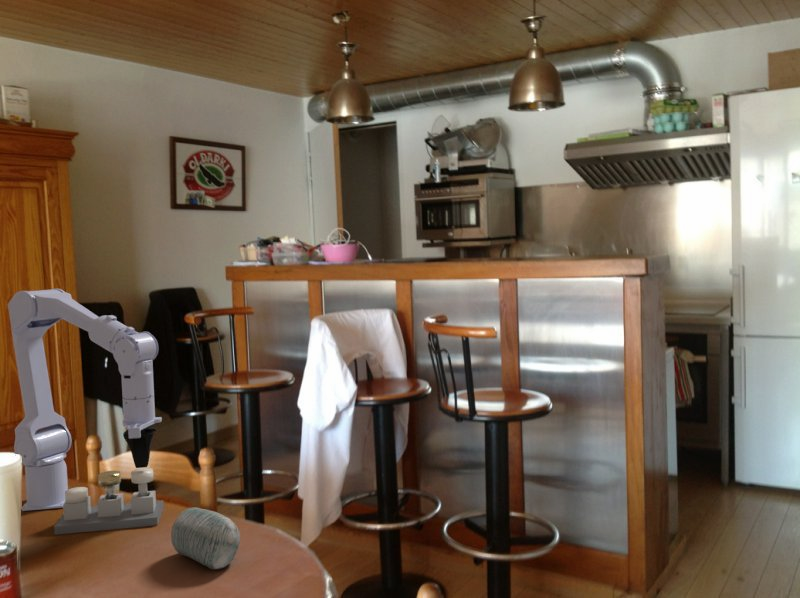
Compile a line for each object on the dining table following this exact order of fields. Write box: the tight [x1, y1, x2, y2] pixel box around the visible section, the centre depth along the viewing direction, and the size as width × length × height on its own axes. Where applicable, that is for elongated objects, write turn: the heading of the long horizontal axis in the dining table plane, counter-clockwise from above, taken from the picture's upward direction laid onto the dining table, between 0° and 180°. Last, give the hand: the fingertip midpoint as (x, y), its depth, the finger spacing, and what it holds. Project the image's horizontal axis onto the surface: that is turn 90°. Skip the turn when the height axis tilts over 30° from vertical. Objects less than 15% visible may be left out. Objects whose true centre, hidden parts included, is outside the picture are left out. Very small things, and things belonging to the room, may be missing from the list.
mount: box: [53, 490, 164, 536], centre depth 144 cm, size 10×18×4 cm, turn 101°
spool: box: [170, 507, 241, 570], centre depth 124 cm, size 14×10×10 cm
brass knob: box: [97, 470, 122, 500], centre depth 144 cm, size 4×4×5 cm
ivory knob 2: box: [130, 467, 154, 497], centre depth 145 cm, size 4×4×5 cm
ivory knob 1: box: [65, 486, 89, 503], centre depth 143 cm, size 4×4×5 cm
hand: (141, 466), depth 145 cm, fingers closed
